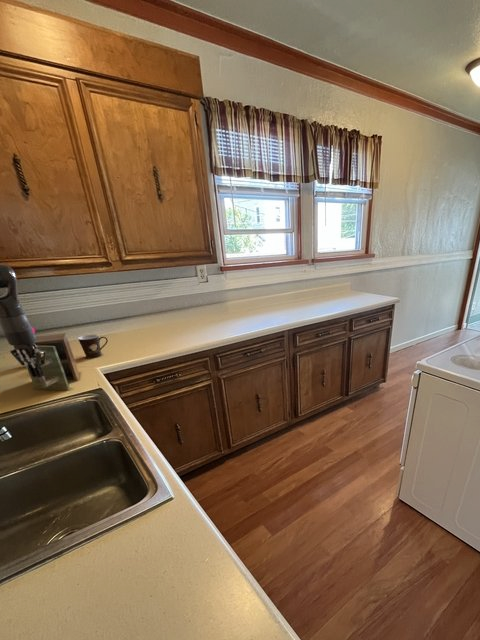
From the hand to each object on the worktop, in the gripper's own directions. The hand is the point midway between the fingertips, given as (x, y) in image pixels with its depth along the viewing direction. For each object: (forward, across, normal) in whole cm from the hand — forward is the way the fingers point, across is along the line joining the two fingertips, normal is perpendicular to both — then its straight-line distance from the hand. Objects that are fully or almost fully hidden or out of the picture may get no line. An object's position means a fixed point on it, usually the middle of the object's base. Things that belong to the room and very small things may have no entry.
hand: (38, 376), depth 117 cm
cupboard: (+9, +11, -14) cm, 20 cm away
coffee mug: (+10, +20, -44) cm, 49 cm away
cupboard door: (+9, +5, -3) cm, 11 cm away
